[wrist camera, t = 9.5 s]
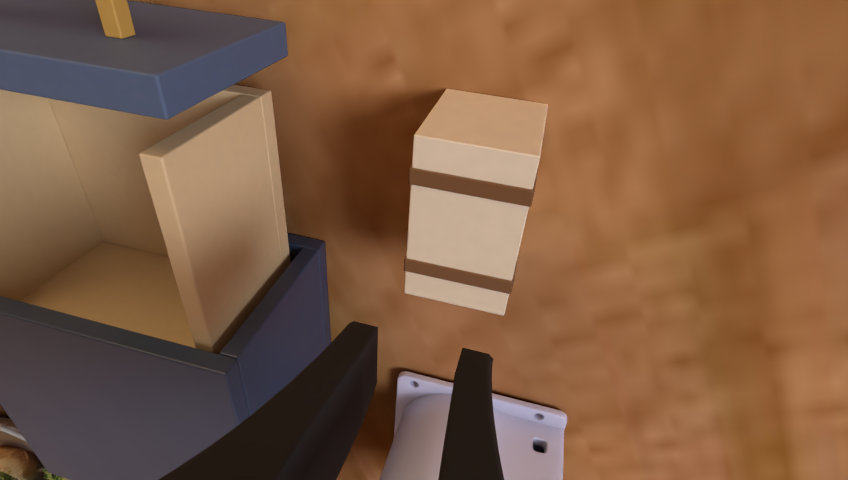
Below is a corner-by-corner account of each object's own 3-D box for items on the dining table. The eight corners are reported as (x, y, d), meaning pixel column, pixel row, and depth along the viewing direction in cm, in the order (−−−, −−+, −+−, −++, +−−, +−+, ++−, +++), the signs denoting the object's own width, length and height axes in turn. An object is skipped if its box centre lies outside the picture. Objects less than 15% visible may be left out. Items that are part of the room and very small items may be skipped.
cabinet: (89, 189, 26) (-81, 291, 20) (325, 240, 24) (225, 374, 17) (153, 358, 34) (47, 473, 28) (335, 408, 32) (269, 547, 25)
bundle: (549, 103, 18) (542, 157, 14) (518, 245, 22) (505, 318, 18) (444, 87, 18) (410, 134, 15) (431, 228, 22) (401, 294, 18)
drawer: (-54, -163, 17) (-348, -192, 12) (272, -136, 15) (99, -156, 10) (100, 236, 27) (-21, 320, 22) (309, 284, 25) (234, 391, 20)
